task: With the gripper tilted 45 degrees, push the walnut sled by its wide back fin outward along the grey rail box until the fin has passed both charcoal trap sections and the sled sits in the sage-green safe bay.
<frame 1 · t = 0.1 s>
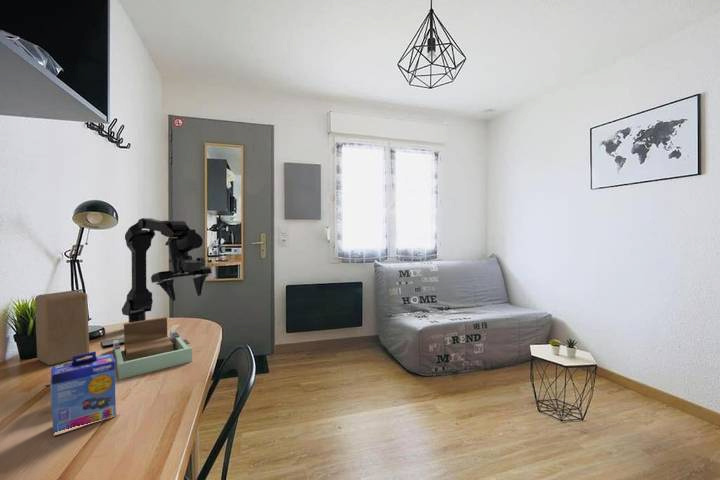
hand: (187, 298, 112), 15 cm above the table, tool pointing down, fingers open, 9 cm apart
ink cartridge box: (85, 422, 65), on the table
wooden block: (63, 358, 99), on the table
walnut sled: (148, 351, 104), on the table
trap box: (150, 353, 102), on the table
game die: (73, 403, 72), on the table
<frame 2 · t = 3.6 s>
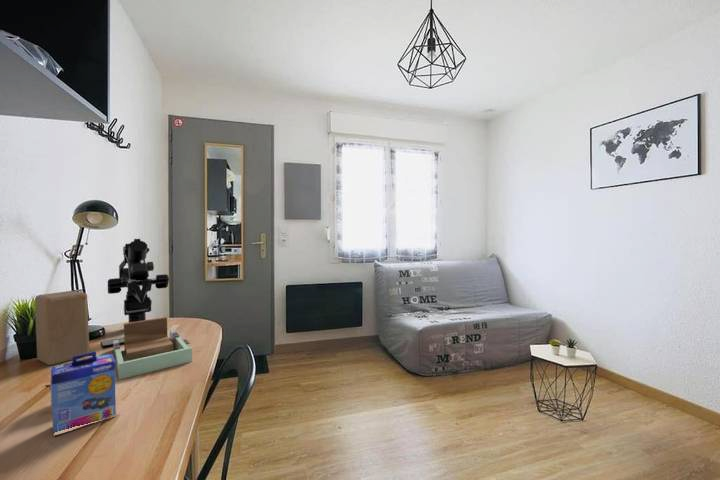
hand: (141, 301, 116), 14 cm above the table, tool tilted 45°, fingers closed
nothing on the table moved.
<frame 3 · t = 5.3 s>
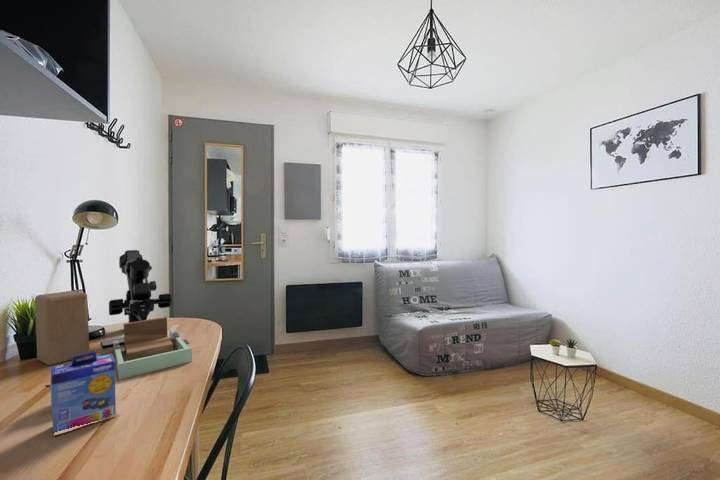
hand: (144, 323, 112), 7 cm above the table, tool tilted 45°, fingers closed
nothing on the table moved.
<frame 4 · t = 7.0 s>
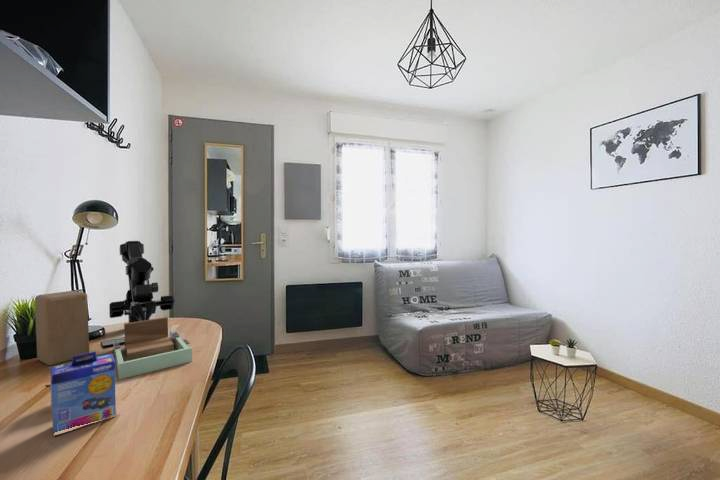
hand: (145, 326, 108), 7 cm above the table, tool tilted 45°, fingers closed, pressing on walnut sled
walnut sled: (149, 351, 104), on the table, touching gripper
everything else where it was.
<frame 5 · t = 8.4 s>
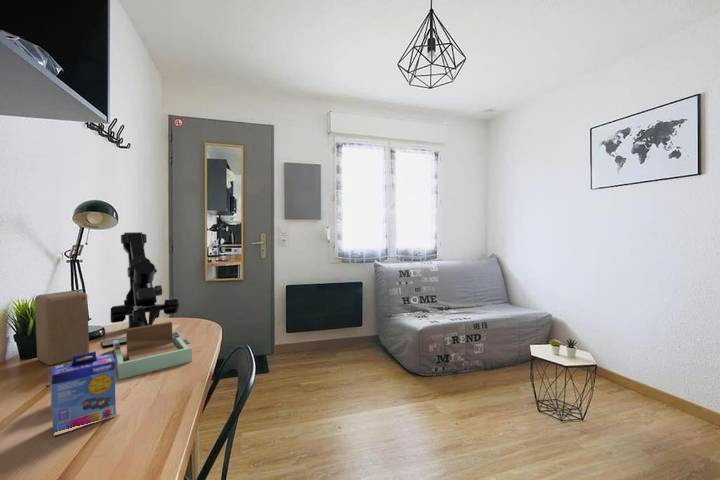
hand: (149, 331, 102), 7 cm above the table, tool tilted 45°, fingers closed, pressing on walnut sled
walnut sled: (152, 358, 98), on the table, touching gripper
everything else where it was.
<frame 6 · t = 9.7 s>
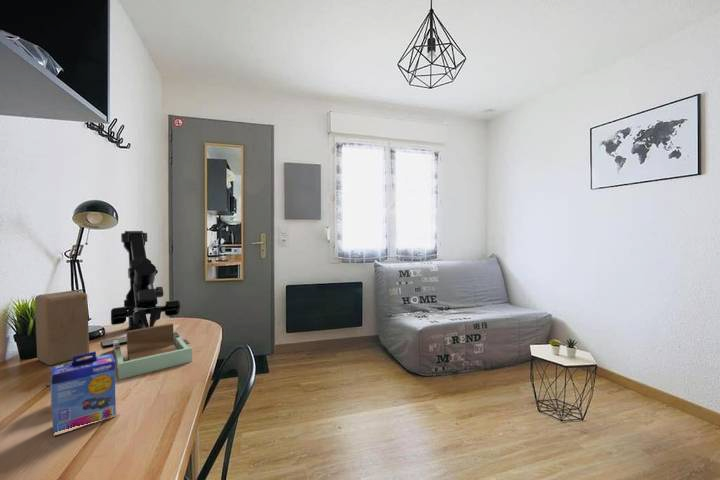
hand: (150, 333, 101), 7 cm above the table, tool tilted 45°, fingers closed
walnut sled: (153, 361, 96), on the table, touching gripper
everything else where it was.
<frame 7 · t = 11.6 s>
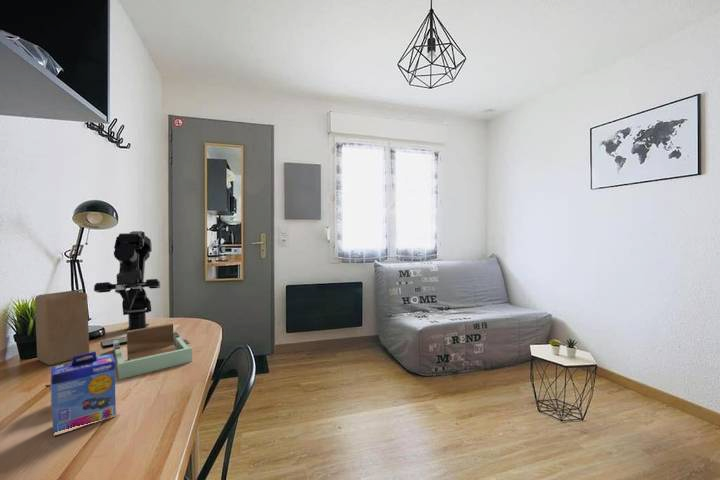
hand: (128, 310, 113), 11 cm above the table, tool tilted 15°, fingers closed
walnut sled: (153, 361, 96), on the table
everything else where it was.
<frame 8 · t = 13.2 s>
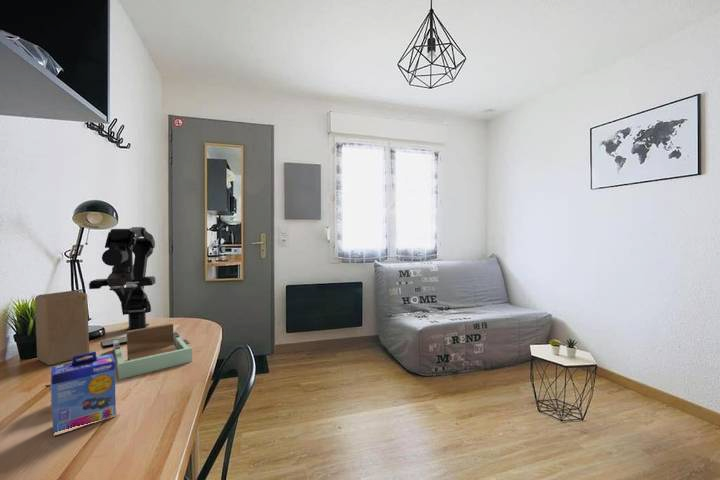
hand: (124, 306, 116), 12 cm above the table, tool pointing down, fingers closed
nothing on the table moved.
at the end: walnut sled inside the target area (0.3 cm from its centre), on the table; walnut sled moved 10.7 cm from its start; walnut sled tilted 0° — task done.
